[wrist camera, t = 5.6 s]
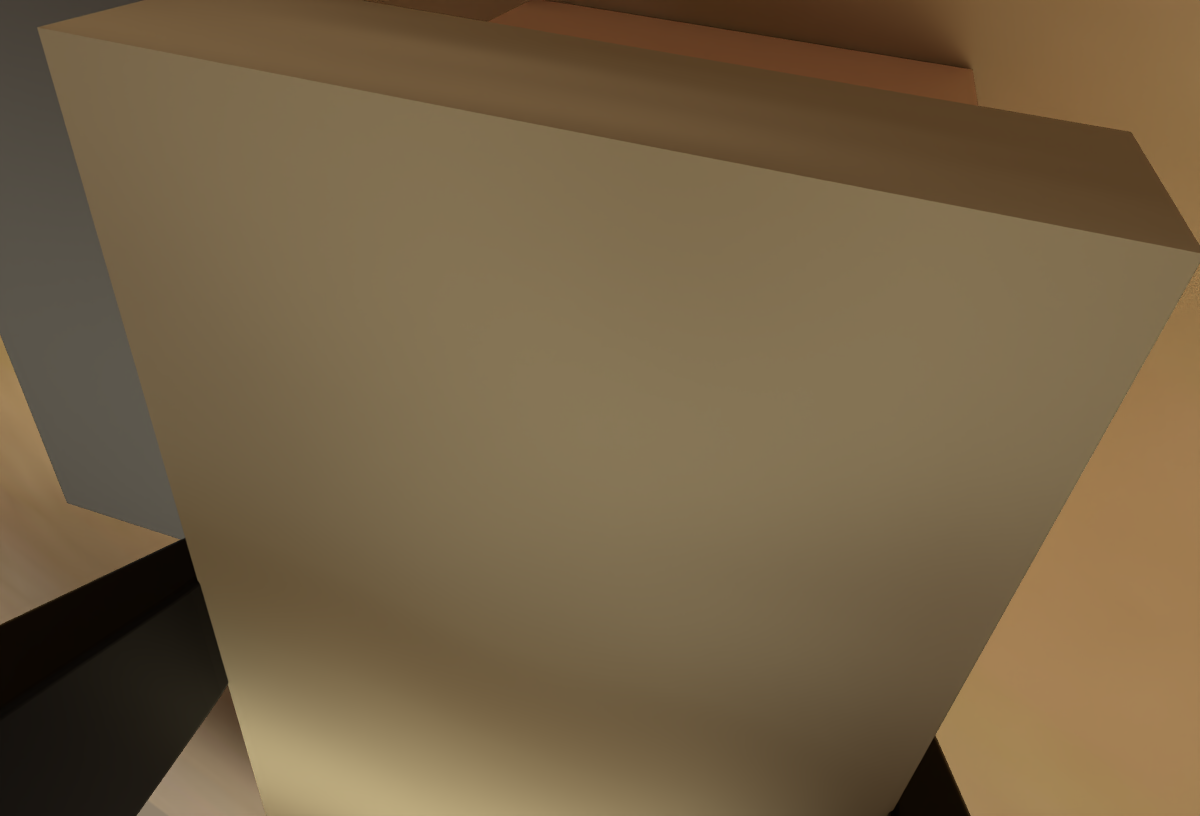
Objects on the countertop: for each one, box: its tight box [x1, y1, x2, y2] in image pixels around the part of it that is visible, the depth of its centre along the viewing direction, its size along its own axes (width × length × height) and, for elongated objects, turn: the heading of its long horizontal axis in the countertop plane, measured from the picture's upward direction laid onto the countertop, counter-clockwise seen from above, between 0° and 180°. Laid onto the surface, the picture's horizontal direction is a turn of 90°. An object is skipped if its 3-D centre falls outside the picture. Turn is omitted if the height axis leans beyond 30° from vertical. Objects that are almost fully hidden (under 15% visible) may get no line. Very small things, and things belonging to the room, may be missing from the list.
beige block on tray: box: [37, 0, 1200, 816], centre depth 9 cm, size 12×7×2 cm, turn 176°
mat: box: [0, 0, 185, 539], centre depth 18 cm, size 14×9×1 cm, turn 176°
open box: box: [488, 0, 978, 106], centre depth 13 cm, size 10×6×5 cm, turn 176°
